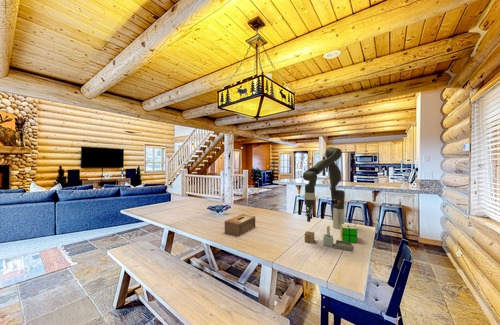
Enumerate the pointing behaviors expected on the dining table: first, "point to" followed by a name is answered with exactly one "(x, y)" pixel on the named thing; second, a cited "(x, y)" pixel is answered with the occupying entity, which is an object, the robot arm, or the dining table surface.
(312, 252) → the dining table surface
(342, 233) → the puzzle cube
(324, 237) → the slate block
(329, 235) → the cylinder
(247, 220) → the tissue box cover
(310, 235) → the brown cardboard cube
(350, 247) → the tray
